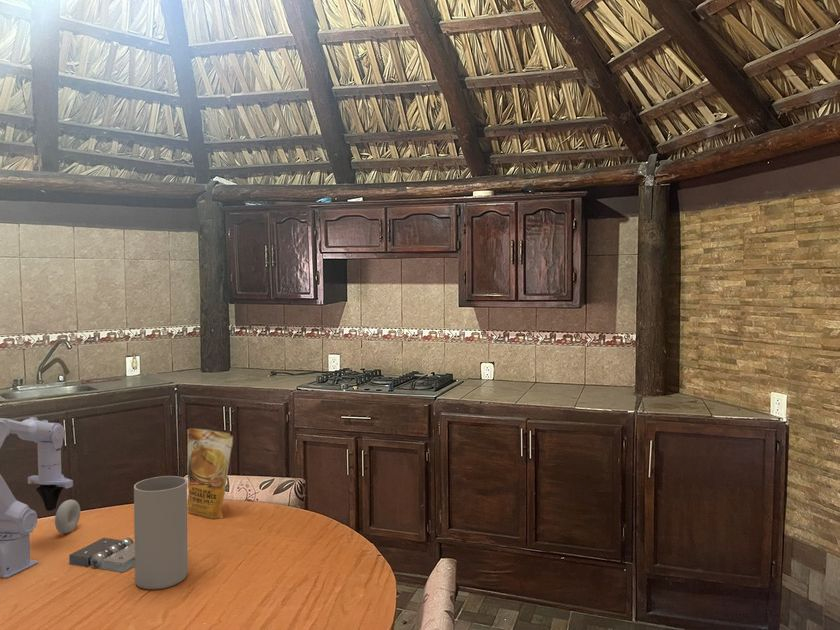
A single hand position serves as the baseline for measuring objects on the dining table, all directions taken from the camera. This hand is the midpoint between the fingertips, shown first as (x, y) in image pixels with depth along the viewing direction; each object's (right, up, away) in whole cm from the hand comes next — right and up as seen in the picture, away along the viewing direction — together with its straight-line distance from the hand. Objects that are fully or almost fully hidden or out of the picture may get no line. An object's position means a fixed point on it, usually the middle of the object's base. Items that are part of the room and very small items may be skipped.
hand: (51, 509), depth 176 cm
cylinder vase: (+41, -12, -20) cm, 47 cm away
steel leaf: (+26, -11, -10) cm, 30 cm away
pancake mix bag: (+36, -10, +26) cm, 46 cm away
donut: (0, -10, +9) cm, 14 cm away
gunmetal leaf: (+19, -11, -8) cm, 23 cm away
